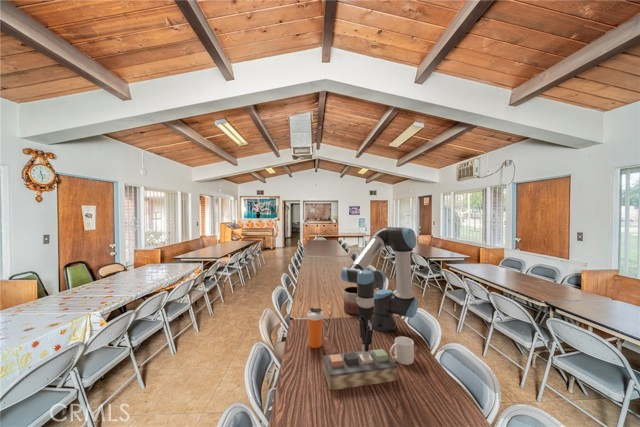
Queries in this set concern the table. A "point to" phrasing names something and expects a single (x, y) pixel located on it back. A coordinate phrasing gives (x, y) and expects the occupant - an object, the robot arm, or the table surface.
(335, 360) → the key terracotta
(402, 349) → the mug
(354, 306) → the planter
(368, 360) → the key ivory
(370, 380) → the console
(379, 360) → the key sage
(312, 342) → the shaker bottle
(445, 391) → the table surface
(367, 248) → the robot arm
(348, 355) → the key dark gray
